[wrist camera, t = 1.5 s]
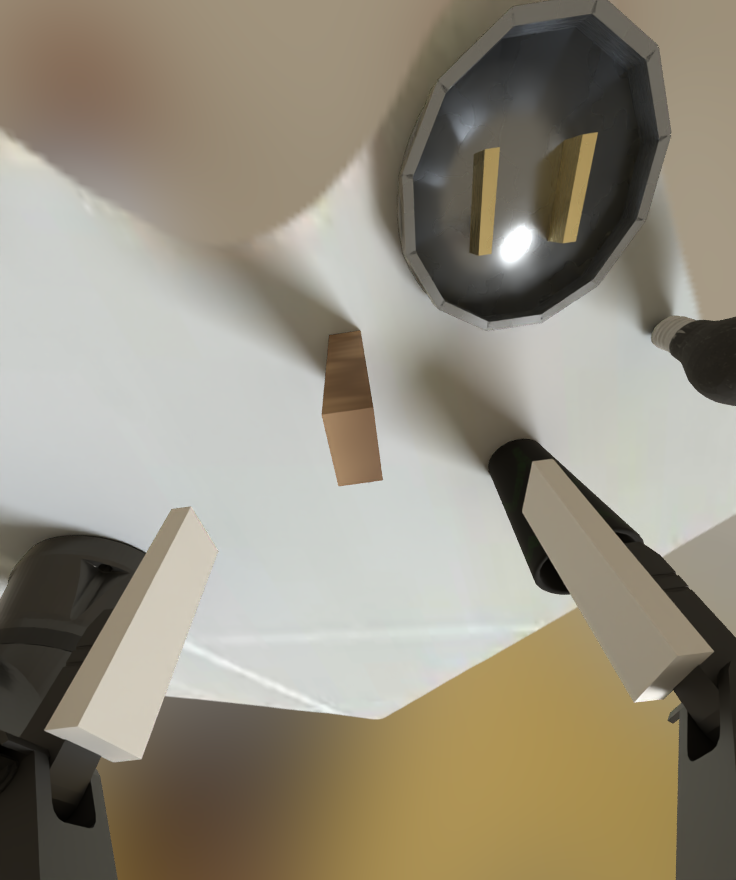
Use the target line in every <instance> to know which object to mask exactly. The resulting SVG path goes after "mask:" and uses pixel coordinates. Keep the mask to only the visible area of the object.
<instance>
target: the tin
mask: <svg viewBox="0 0 736 880" xmlns="http://www.w3.org/2000/svg"><path fill="white" fill-rule="evenodd" d="M657 46H658V45H657V44H656V43H655V42H654V41H653V40H651V38H650V37H648V36H647V35H646V34H645V33H644V32H643V31H642V30H641V29H639V28H638V27H637V26H636V25H635V24H634V23H633V22H632V21H631V20H629V19H628V18H627V17H626V16H625V15H624V14H623V13H622V12H620V11H619V10H618V9H617V8H616V7H615V6H614V5H613V4H612V3H610V2H609V1H608V0H549V1H543V2H537V3H530V4H524V5H518V6H513V7H511V8H510V9H509V10H508V11H507V12H506V13H505V14H504V15H503V16H502V17H501V18H500V19H499V20H498V21H497V22H496V23H495V24H494V25H493V26H492V27H491V28H490V29H489V30H488V31H487V32H486V33H485V34H484V35H483V36H482V37H481V38H480V39H479V40H478V41H477V42H476V43H475V44H474V45H473V46H472V47H471V48H470V49H468V50H467V51H466V52H465V53H464V54H463V55H462V56H461V57H460V58H459V59H458V60H457V62H456V63H455V64H454V65H453V66H452V67H450V68H449V69H448V70H447V71H446V72H445V73H444V74H443V75H442V76H441V77H440V78H439V79H438V81H437V82H436V83H435V85H434V86H433V87H432V89H431V91H430V94H429V96H428V99H427V102H426V104H425V106H424V108H423V109H422V111H421V113H420V115H419V117H418V119H417V122H416V124H415V126H414V129H413V131H412V133H411V136H410V138H409V141H408V145H407V148H406V151H405V154H404V158H403V162H402V167H401V172H400V174H399V185H398V195H397V220H398V228H399V236H400V240H401V245H402V250H403V255H404V257H405V258H406V261H407V263H408V266H409V268H410V270H411V272H412V274H413V276H414V278H415V279H416V281H417V282H418V284H419V285H420V286H421V288H422V289H423V291H424V292H425V293H426V294H427V295H428V296H429V298H430V300H431V301H432V303H433V304H434V305H435V306H436V307H437V308H438V309H439V310H441V311H443V312H446V313H448V314H450V315H452V316H454V317H457V318H459V319H461V320H463V321H465V322H468V323H470V324H472V325H474V326H476V327H479V328H481V329H483V330H485V331H490V330H497V329H504V328H511V327H518V326H524V325H531V324H538V323H543V322H544V321H546V320H547V319H549V318H550V317H552V316H553V315H555V314H556V313H558V312H559V311H561V310H562V309H564V308H565V307H567V306H568V305H570V304H571V303H573V302H574V301H576V300H577V299H579V298H580V297H582V296H583V295H585V294H586V293H588V292H589V291H591V290H592V289H594V288H595V287H597V286H598V285H599V284H600V282H601V281H602V280H603V278H604V277H605V276H606V274H607V273H608V272H609V270H610V269H611V267H612V266H613V265H614V263H615V262H616V261H617V259H618V258H619V256H620V255H621V254H622V252H623V251H624V250H625V248H626V247H627V246H628V244H629V243H630V241H631V240H632V239H633V237H634V236H635V235H636V233H637V232H638V231H639V229H640V228H641V226H642V225H643V224H644V222H645V221H644V220H646V218H647V215H648V211H649V208H650V205H651V201H652V198H653V195H654V191H655V188H656V184H657V181H658V178H659V174H660V171H661V168H662V164H663V161H664V158H665V154H666V151H667V147H668V144H669V141H670V137H671V135H670V134H671V127H670V120H669V113H668V106H667V99H666V92H665V86H664V79H663V72H662V65H661V58H660V52H659V47H657Z"/></svg>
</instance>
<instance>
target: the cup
mask: <svg viewBox="0 0 736 880" xmlns="http://www.w3.org/2000/svg"><path fill="white" fill-rule="evenodd" d="M547 459H553V460H554V461H555V462H556V463H557V464H558V465H559V467H560V468H561V469H562V470H563V471H564V473H565V474H566V475H567V476H568V477H569V479H570V480H571V481H572V482H573V483H574V485H575V486H576V487H577V488H578V489H579V491H580V492H581V493H582V494H583V495H584V497H585V498H586V499H587V500H588V501H589V503H590V504H591V505H592V506H593V507H594V509H595V510H596V511H597V512H598V513H599V514H600V516H601V517H602V518H603V519H604V520H605V522H606V523H607V524H608V525H609V526H610V528H611V529H612V530H613V531H614V532H615V534H616V535H617V536H618V537H619V538H620V540H621V541H622V542H623V543H632V542H642V543H643V544H644V542H643V540H642V538H641V537H640V535H639V534H638V533H637V532H636V531H634V530H633V529H632V528H631V527H630V526H629V525H628V524H627V523H626V522H625V521H623V520H622V519H621V518H620V517H619V516H618V515H617V514H616V513H615V512H614V511H612V510H611V509H610V508H609V507H608V506H607V505H606V504H605V503H604V502H603V501H601V500H600V499H599V498H598V497H597V496H596V495H595V494H594V493H593V492H592V491H590V490H589V489H588V488H587V487H586V486H585V485H584V484H583V483H582V482H581V481H579V480H578V479H577V478H576V477H575V476H574V475H573V474H572V473H571V472H570V471H568V470H567V469H566V468H565V467H564V466H563V465H562V464H561V463H560V462H559V461H557V460H556V459H555V458H554V457H553V456H552V455H551V454H550V453H549V452H548V451H546V450H545V449H544V448H543V447H542V446H541V445H540V444H539V443H537V442H536V441H533V440H530V439H519V440H514V441H511V442H508V443H507V444H505V445H503V446H501V447H500V448H499V449H498V450H497V451H496V452H495V453H494V454H493V455H492V457H491V459H490V461H489V465H488V467H489V472H490V475H491V477H492V480H493V482H494V484H495V487H496V489H497V492H498V494H499V496H500V499H501V501H502V504H503V506H504V508H505V511H506V513H507V516H508V518H509V520H510V523H511V525H512V528H513V530H514V533H515V535H516V537H517V540H518V542H519V545H520V547H521V549H522V552H523V554H524V557H525V559H526V561H527V564H528V566H529V569H530V571H531V573H532V576H533V578H534V580H535V583H536V585H537V586H539V587H540V588H541V589H542V590H545V591H547V592H550V593H554V594H560V595H568V594H570V593H569V591H568V589H567V588H566V586H565V584H564V582H563V581H562V579H561V577H560V576H559V574H558V572H557V571H556V569H555V567H554V565H553V564H552V562H551V560H550V559H549V557H548V555H547V554H546V552H545V550H544V548H543V547H542V545H541V543H540V542H539V540H538V538H537V537H536V535H535V533H534V531H533V530H532V528H531V526H530V525H529V523H528V521H527V519H526V518H525V516H524V514H523V513H522V509H523V505H524V500H525V495H526V490H527V485H528V481H529V476H530V471H531V466H532V461H540V460H547Z"/></svg>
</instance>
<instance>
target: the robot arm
mask: <svg viewBox="0 0 736 880" xmlns="http://www.w3.org/2000/svg"><path fill="white" fill-rule="evenodd" d="M522 513H523V514H524V516H525V518H526V519H527V521H528V523H529V525H530V526H531V528H532V530H533V531H534V533H535V535H536V537H537V538H538V540H539V542H540V543H541V545H542V547H543V548H544V550H545V552H546V554H547V555H548V557H549V559H550V560H551V562H552V564H553V565H554V567H555V569H556V571H557V572H558V574H559V576H560V577H561V579H562V581H563V582H564V584H565V586H566V588H567V589H568V591H569V593H570V594H571V596H572V598H573V599H574V601H575V603H576V605H577V606H578V608H579V610H580V611H581V613H582V614H583V616H584V618H585V620H586V621H587V623H588V625H589V627H590V628H591V630H592V632H593V633H594V635H595V637H596V638H597V640H598V642H599V644H600V645H601V647H602V649H603V651H604V652H605V654H606V656H607V657H608V659H609V661H610V662H611V664H612V666H613V668H614V669H615V671H616V673H617V674H618V676H619V678H620V679H621V681H622V683H623V685H624V686H625V688H626V690H627V691H628V693H629V695H630V696H631V698H632V700H633V702H643V701H651V700H660V699H664V698H665V697H666V696H667V695H669V694H670V693H671V692H672V691H673V690H674V692H675V693H676V695H677V696H678V698H679V699H680V701H681V702H682V703H681V704H680V705H679V706H677V707H676V708H675V709H674V710H673V711H672V712H670V715H669V718H668V721H669V722H671V723H674V722H676V721H677V720H678V719H679V761H678V763H679V764H678V807H677V851H676V855H677V856H676V880H736V638H735V637H734V635H733V634H732V633H731V632H730V631H729V630H728V629H727V628H726V627H725V625H723V623H722V622H721V621H720V620H719V619H718V618H717V617H716V616H715V615H714V613H713V612H712V611H711V610H710V609H709V608H708V607H707V606H706V605H705V604H704V603H703V601H702V600H701V599H700V598H699V597H698V596H697V595H696V594H695V593H694V592H693V591H692V590H690V589H689V588H688V585H687V584H686V583H685V582H684V581H683V580H682V579H681V577H680V576H679V575H678V576H677V575H676V572H675V571H674V570H673V569H672V567H671V566H670V565H669V564H668V563H667V562H666V561H665V560H664V559H663V558H662V557H661V555H659V554H658V553H656V552H655V551H653V550H652V549H650V548H649V547H647V546H646V545H645V544H643V543H642V542H632V543H623V542H622V541H621V540H620V538H619V537H618V536H617V535H616V534H615V532H614V531H613V530H612V529H611V528H610V526H609V525H608V524H607V523H606V522H605V520H604V519H603V518H602V517H601V516H600V514H599V513H598V512H597V511H596V510H595V509H594V507H593V506H592V505H591V504H590V503H589V501H588V500H587V499H586V498H585V497H584V495H583V494H582V493H581V492H580V491H579V489H578V488H577V487H576V486H575V485H574V483H573V482H572V481H571V480H570V479H569V477H568V476H567V475H566V474H565V473H564V471H563V470H562V469H561V468H560V467H559V465H558V464H557V463H556V462H555V461H554V460H553V459H547V460H540V461H532V466H531V471H530V476H529V481H528V485H527V490H526V495H525V500H524V505H523V509H522ZM217 553H218V550H217V548H216V546H215V545H214V543H213V541H212V540H211V538H210V537H209V535H208V533H207V532H206V530H205V528H204V527H203V525H202V523H201V522H200V520H199V519H198V517H197V515H196V514H195V512H194V510H193V509H192V507H183V508H176V509H171V511H170V513H169V514H168V516H167V518H166V520H165V521H164V523H163V525H162V527H161V528H160V530H159V532H158V534H157V535H156V537H155V539H154V540H153V542H152V544H151V546H150V547H149V549H148V551H147V553H146V554H145V553H143V552H141V551H139V550H137V549H135V548H133V547H130V546H128V545H125V544H122V543H119V542H116V541H112V540H108V539H103V538H97V537H90V536H63V537H56V538H52V539H48V540H45V541H42V542H40V543H38V544H37V545H35V546H34V547H32V548H31V549H30V550H29V551H28V552H27V554H26V555H25V556H24V557H23V558H22V559H21V560H20V561H19V562H18V563H17V564H16V566H15V567H14V569H13V570H12V572H11V574H10V577H9V581H8V585H7V587H6V589H5V591H4V593H3V595H2V597H1V599H0V880H118V879H117V873H116V867H115V861H114V855H113V850H112V844H111V839H110V832H109V826H108V820H107V815H106V808H105V802H104V796H103V790H102V785H101V779H100V775H99V774H98V771H97V770H96V766H97V764H98V762H99V760H100V757H103V758H105V759H108V760H110V761H112V762H119V761H129V760H138V759H142V756H143V753H144V750H145V748H146V745H147V742H148V740H149V737H150V734H151V732H152V729H153V726H154V723H155V720H156V718H157V715H158V713H159V710H160V707H161V705H162V702H163V699H164V696H165V694H166V691H167V688H168V686H169V683H170V680H171V677H172V675H173V672H174V669H175V667H176V664H177V661H178V659H179V656H180V653H181V650H182V648H183V645H184V642H185V640H186V637H187V634H188V631H189V629H190V626H191V623H192V621H193V618H194V615H195V613H196V610H197V607H198V604H199V602H200V599H201V596H202V594H203V591H204V588H205V585H206V583H207V580H208V577H209V575H210V572H211V569H212V567H213V564H214V561H215V558H216V556H217Z"/></svg>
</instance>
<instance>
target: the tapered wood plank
mask: <svg viewBox="0 0 736 880" xmlns="http://www.w3.org/2000/svg"><path fill="white" fill-rule="evenodd" d="M322 418H323V422H324V427H325V431H326V435H327V439H328V444H329V448H330V452H331V456H332V461H333V465H334V469H335V473H336V477H337V482H338V486H344V485H352V484H359V483H366V482H373V481H380V480H383V478H382V471H381V463H380V455H379V448H378V440H377V432H376V425H375V417H374V409H373V403H372V397H371V391H370V385H369V379H368V373H367V367H366V361H365V355H364V349H363V343H362V337H361V331H354V332H347V333H340V334H333V335H329V342H328V353H327V363H326V374H325V385H324V395H323V406H322Z"/></svg>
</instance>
